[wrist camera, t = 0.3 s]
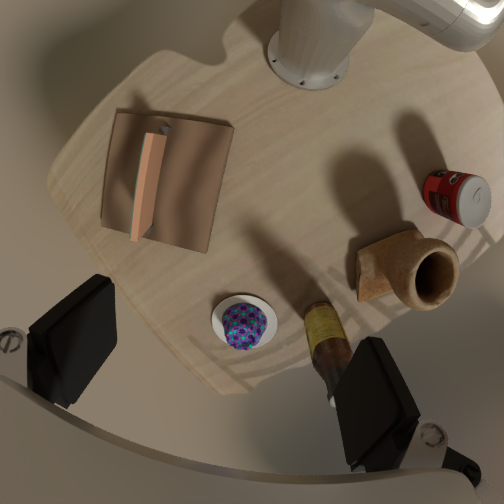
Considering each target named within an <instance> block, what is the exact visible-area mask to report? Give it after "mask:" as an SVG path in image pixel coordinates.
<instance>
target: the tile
mask: <svg viewBox="0 0 504 504" xmlns="http://www.w3.org/2000/svg"><path fill="white" fill-rule="evenodd" d="M166 138H167V136H164V135H159V134H153V133H146V134H145V136H144V140H143V145H142V151H141V156H140V161H139V167H138V173H137V180H136V187H135V194H134V202H133V210H132V219H131V229H130V239H131V241H135V242H138V241H139V239H140V238H141V237H142V236H143V235H144V233H145V232H146V231H147V230H148V229H149V227H150V226H151V225H152V219H153V212H154V205H155V198H156V192H157V185H158V180H159V174H160V168H161V163H162V158H163V153H164V148H165V143H166Z"/></svg>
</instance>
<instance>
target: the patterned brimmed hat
mask: <svg viewBox="0 0 504 504" xmlns="http://www.w3.org/2000/svg"><path fill="white" fill-rule="evenodd" d="M237 303H241V304H239V305H238V306H237V307H236V306H232V305H234V304H237ZM245 303H250V304H253V305H255V306H257V307H255V306H253V307H250V306H249V305H248V304H245ZM230 306H231V307H230ZM228 307H229V308H228ZM258 307H259V308H260V309H261V310H262V311H263V312H264V313H265V315H266V317H267V319H266V317H265V316H264V315H262V314H261V310H260V309H259V308H258ZM227 308H228V309H227ZM226 309H227V314H226V315H224V316H223V314H224V312H225V310H226ZM222 316H223V318H222ZM222 320H223V324H222ZM267 321H268V325H267V328H266V330H265V325H266V323H267ZM212 325H213V329H214V331H215V333H216V334H217V335H218V337H219V338H220V339H221V340H223V341H224V342H225V343H227V344H229V345H231V346H234V348H235V349H238V350H241V349H244V350H249V349H251V348H256V347H259V346H262V345H264V344H266V343H267V342H268V341H270V339H271V338H272V337H273V336H274V334H275V332H276V329H277V318H276V314H275V313H274V311H273V309H272V308H271V307H270V306H269V305H268V304H267V303H266V302H264V301H262V300H261V299H259V298H256V297H253V296H248V295H236V296H232V297H229V298H227V299H225V300H223V301H222V302H220V303H219V304H218V305H217V307H216V308H215V309H214V312H213V315H212ZM264 331H265V332H264Z"/></svg>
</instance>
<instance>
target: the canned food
mask: <svg viewBox="0 0 504 504" xmlns="http://www.w3.org/2000/svg"><path fill="white" fill-rule="evenodd" d="M423 196H424V201H425V203H426V205H427V206H428V208H429V209H430V210H431V211H432V212H434V213H436V214H438V215H440V216H443V217H445V218H447V219H449V220H451V221H454V222H456V223H458V224H460V225H462V226H465V227H467V228H470V229H475V228H478V227H480V226H481V225H482V224H483V223H484V222H485V220H486V219H487V217H488V215H489V212H490V208H491V192H490V188H489V186H488V184H487V182H486V181H485V180H484V179H483V178H482V177H480V176H477V175H473V174H467V173H461V172H455V171H449V170H442V169H441V170H436V171H434V172H432V173H431V174H430V175H429V176H428V177H427V179H426V181H425V183H424V187H423Z"/></svg>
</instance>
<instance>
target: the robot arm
mask: <svg viewBox="0 0 504 504" xmlns="http://www.w3.org/2000/svg"><path fill="white" fill-rule="evenodd" d="M374 8H376V9H380V10H382V11H384V12H386V13H388V14H390V15H392V16H394V17H396V18H398V19H400V20H402V21H403V22H405V23H407V24H409V25H411V26H412V27H414V28H416V29H417V30H419V31H421V32H422V33H424V34H426V35H427V36H429V37H431V38H432V39H434V40H435V41H437V42H439V43H440V44H442V45H444V46H446V47H448V48H450V49H452V50H455V51H458V52H472V51H475V50H477V49H480V48H481V47H483V46H484V45H485V44H486V43H488V42H489V41H490V40H491V38H492V37H493V36H494V35H495V34H496V32H497V31H498V29H499V28H500V26H501V25H502V23H503V21H504V0H281V2H280V21H279V30H278V31H277V32H275V33H274V35H273V36H272V37H271V39H270V41H269V44H268V50H267V53H268V60H269V63H270V65H271V68H272V69H273V71H274V72H275V73H276V74H277V75H278V76H279V77H280V78H281V79H282V80H283V81H285V82H286V83H288V84H290V85H292V86H294V87H297V88H300V89H304V90H322V89H326V88H329V87H332V86H333V85H335V84H337V83H338V82H339V81H340V80H341V79H342V78H343V77H344V75H345V74H346V72H347V70H348V66H349V55H348V54H349V52H350V51H351V50H352V49H353V47H354V46H355V45H356V44H357V42H358V41H359V40H360V39H361V37H362V36H363V35H364V34H365V32H366V31H367V30H368V29H369V27H370V26H371V24H372V22H373V18H374ZM273 61H276V62H273ZM334 77H336V79H334ZM300 83H303V85H300ZM29 331H30V333H28V334H27V335H26V334H25V332H24V331H22V330H21V329H19V328H14V327H9V328H4V329H2V330H0V504H504V498H503V497H502V496H501V495H500V494H499V493H498V492H497V491H496V490H495V489H494V488H493V487H492V486H490V484H489V483H488V482H487V481H486V480H485V479H482V480H481V470H480V467H479V466H478V464H477V463H475V462H474V461H473V460H471V459H469V458H467V457H465V456H464V455H462V454H460V453H458V452H456V451H455V450H453V449H451V448H449V447H448V446H447V445H448V434H447V432H446V430H445V429H444V428H443V427H442V425H440V424H439V423H437V422H435V421H433V420H424V421H422V422H420V423H419V422H418V418H419V417H420V416H421V414H420V412H419V410H418V408H417V406H416V404H415V401H414V399H413V397H412V395H411V393H410V391H409V389H408V387H407V385H406V383H405V381H404V379H403V377H402V375H401V373H400V371H399V369H398V367H397V366H396V363H395V361H394V360H393V358H392V356H391V354H390V352H389V350H388V349H387V347H386V345H385V343H384V341H383V340H382V338H377V337H370V336H368V337H366V338H365V340H364V339H363V340H361V341H360V343H359V345H358V347H357V349H356V351H355V353H354V355H353V357H352V358H351V360H350V362H349V364H348V366H347V368H346V369H345V371H344V373H343V375H342V376H341V378H340V380H339V382H338V383H337V385H336V387H335V389H334V393H333V397H334V401H335V406H336V411H337V416H338V420H339V425H340V430H341V435H342V440H343V446H344V451H345V457H346V462H347V464H348V465H350V466H351V472H358V471H365V470H366V473H358V474H342V475H289V474H274V473H263V472H254V471H246V470H239V469H233V468H227V467H221V466H216V465H211V464H206V463H202V462H198V461H193V460H189V459H185V458H181V457H178V456H174V455H171V454H168V453H164V452H161V451H158V450H155V449H151V448H149V447H146V446H143V445H140V444H137V443H135V442H132V441H129V440H127V439H124V438H122V437H119V436H117V435H114V434H112V433H110V432H107V431H105V430H103V429H101V428H99V427H96V426H94V425H92V424H90V423H88V422H86V421H84V420H82V419H80V418H78V417H76V416H74V415H72V414H70V413H69V412H67V411H65V410H63V409H61V408H59V407H58V406H56V405H54V403H57V404H59V405H60V406H62V407H64V408H66V409H67V408H68V407H69V405H70V404H74V403H75V402H76V401H77V400H78V398H79V397H80V395H81V394H82V393H83V391H84V390H85V388H86V387H87V385H88V384H89V383H90V381H91V380H92V378H93V377H94V375H95V374H96V372H97V371H98V370H99V368H100V367H101V366H102V364H103V363H104V362H105V360H106V359H107V357H108V356H109V355H110V353H111V352H112V351H113V349H114V348H115V346H116V344H117V329H116V313H115V285H114V283H112V281H111V279H110V278H109V277H106V276H103V275H100V274H95V275H94V276H92V277H91V278H90V279H88V280H87V281H86V282H84V283H83V284H82V285H80V286H79V287H78V288H77V289H75V290H74V291H73V292H71V293H70V294H69V295H68V296H66V297H65V298H64V299H63V300H61V301H60V302H59V303H58V304H56V305H55V306H54V307H53V308H51V309H50V310H49V311H48V312H47V313H46V314H44V315H43V316H42V317H41V318H39V319H38V320H37V321H36V322H35V323H34V324H32V325H31V326H30V327H29ZM480 480H481V481H480Z"/></svg>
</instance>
